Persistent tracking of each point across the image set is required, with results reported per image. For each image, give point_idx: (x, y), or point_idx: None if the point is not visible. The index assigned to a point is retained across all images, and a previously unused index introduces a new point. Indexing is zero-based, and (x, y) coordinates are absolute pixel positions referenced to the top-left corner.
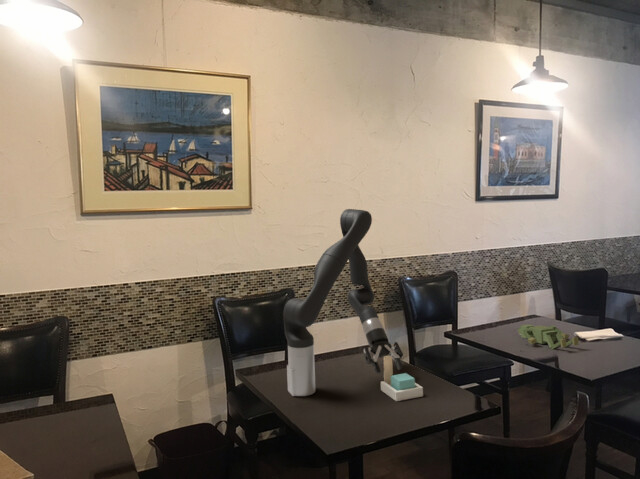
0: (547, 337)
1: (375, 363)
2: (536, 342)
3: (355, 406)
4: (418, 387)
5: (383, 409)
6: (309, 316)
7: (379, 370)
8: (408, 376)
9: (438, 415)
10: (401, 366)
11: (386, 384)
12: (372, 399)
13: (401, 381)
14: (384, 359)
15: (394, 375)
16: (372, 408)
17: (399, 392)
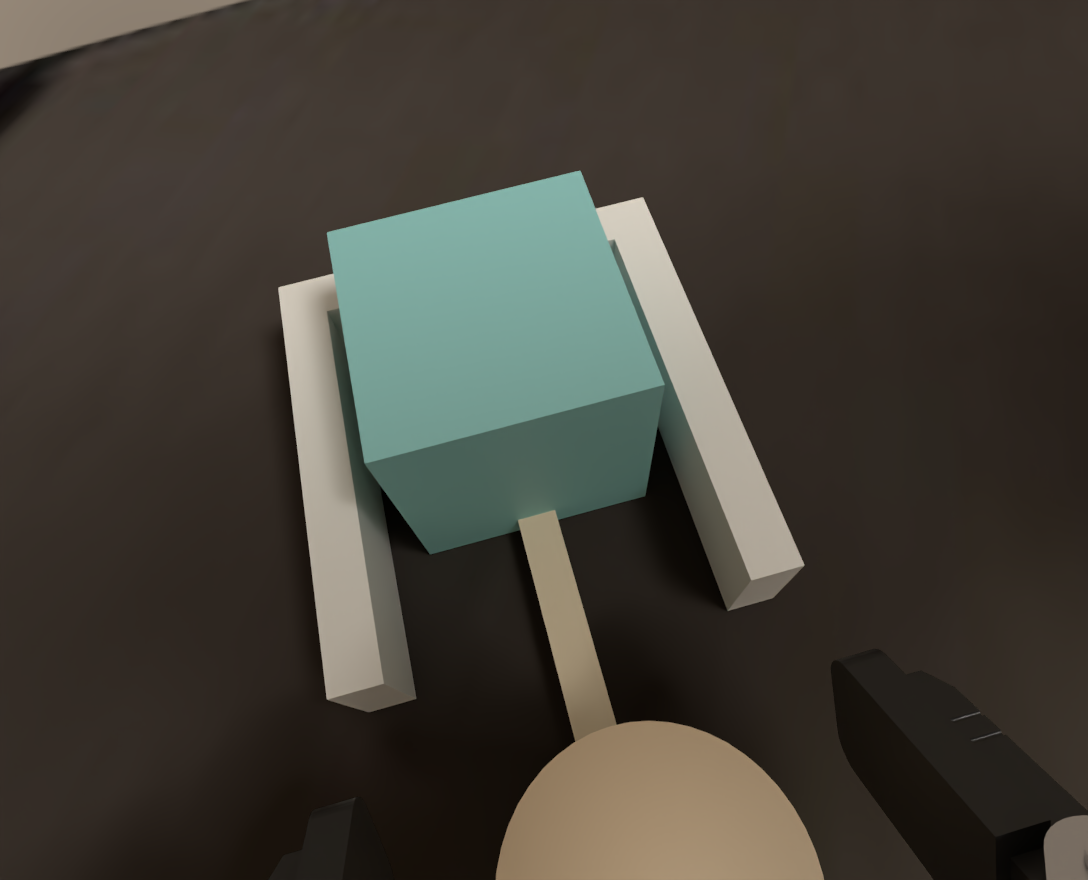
0: None
1: (1042, 824)
2: None
3: (1078, 210)
4: (329, 293)
5: (789, 136)
6: None
7: (870, 655)
8: (383, 313)
9: (368, 27)
10: (309, 822)
11: (723, 441)
12: (895, 338)
13: (546, 186)
14: (784, 816)
15: (598, 382)
16: (895, 160)
17: (597, 212)
